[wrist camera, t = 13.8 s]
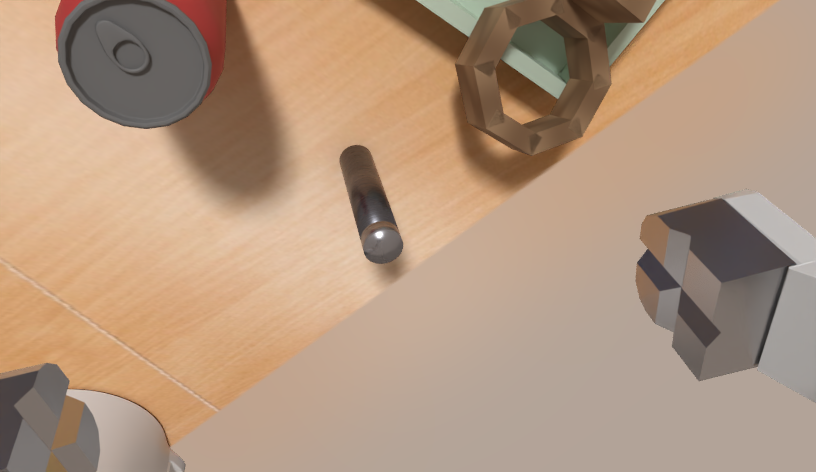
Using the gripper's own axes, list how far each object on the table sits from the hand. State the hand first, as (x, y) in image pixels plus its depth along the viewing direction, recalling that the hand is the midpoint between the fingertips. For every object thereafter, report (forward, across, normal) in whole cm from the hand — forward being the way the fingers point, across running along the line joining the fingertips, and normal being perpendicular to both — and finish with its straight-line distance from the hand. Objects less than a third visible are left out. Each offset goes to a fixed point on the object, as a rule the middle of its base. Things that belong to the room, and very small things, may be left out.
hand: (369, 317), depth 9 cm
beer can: (+31, +6, +2) cm, 32 cm away
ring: (+28, -12, +10) cm, 32 cm away
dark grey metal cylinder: (+31, -2, +16) cm, 35 cm away
